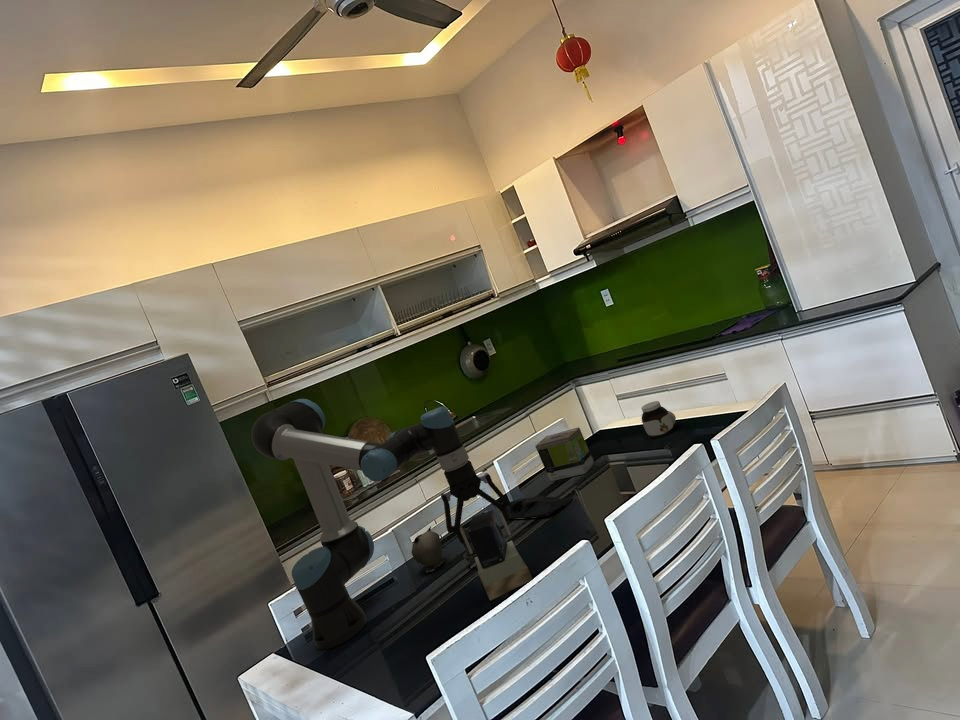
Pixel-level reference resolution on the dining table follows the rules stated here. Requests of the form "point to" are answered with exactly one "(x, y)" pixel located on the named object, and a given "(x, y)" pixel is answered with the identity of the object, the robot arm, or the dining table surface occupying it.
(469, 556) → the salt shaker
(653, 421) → the spread jar
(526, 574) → the tower bottom
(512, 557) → the tower top
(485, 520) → the small box
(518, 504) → the dark slate chunk
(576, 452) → the tea box
